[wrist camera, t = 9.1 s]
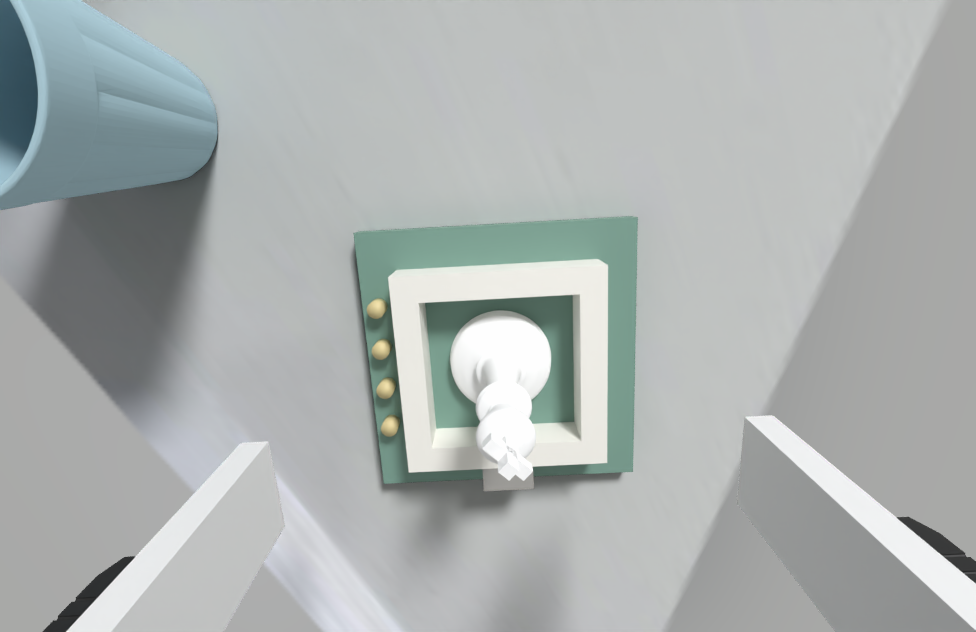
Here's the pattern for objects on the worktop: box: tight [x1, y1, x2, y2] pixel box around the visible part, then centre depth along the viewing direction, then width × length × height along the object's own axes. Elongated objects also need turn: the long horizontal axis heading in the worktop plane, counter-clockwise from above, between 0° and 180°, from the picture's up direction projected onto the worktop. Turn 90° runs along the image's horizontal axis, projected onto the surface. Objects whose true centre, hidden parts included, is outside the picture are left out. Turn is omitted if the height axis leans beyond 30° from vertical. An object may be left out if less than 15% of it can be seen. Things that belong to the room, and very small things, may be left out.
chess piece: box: [450, 310, 551, 481], centre depth 19 cm, size 5×5×10 cm
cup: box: [0, 0, 218, 210], centre depth 17 cm, size 8×8×10 cm
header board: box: [354, 216, 638, 491], centre depth 24 cm, size 13×13×3 cm
